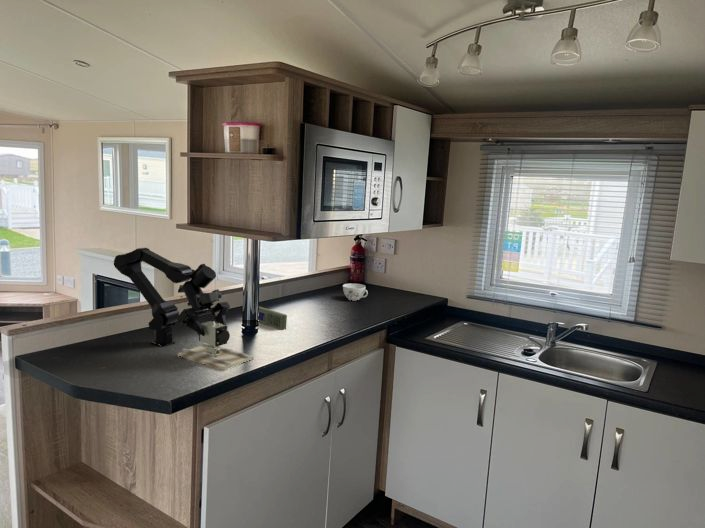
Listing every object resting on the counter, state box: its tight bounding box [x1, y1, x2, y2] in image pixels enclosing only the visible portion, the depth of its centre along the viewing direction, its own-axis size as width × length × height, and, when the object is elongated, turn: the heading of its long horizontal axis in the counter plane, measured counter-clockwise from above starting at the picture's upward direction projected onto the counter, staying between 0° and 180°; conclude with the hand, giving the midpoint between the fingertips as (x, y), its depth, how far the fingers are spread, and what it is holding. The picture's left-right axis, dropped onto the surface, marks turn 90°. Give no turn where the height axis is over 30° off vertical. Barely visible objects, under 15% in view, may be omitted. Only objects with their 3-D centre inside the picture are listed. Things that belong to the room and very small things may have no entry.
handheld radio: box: [258, 305, 288, 331], centre depth 222 cm, size 7×3×25 cm
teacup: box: [342, 282, 369, 302], centre depth 277 cm, size 15×12×8 cm
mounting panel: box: [177, 342, 255, 371], centre depth 176 cm, size 22×14×2 cm, turn 59°
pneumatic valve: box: [196, 320, 231, 357], centre depth 174 cm, size 6×12×12 cm, turn 56°
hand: (215, 332), depth 175 cm, fingers open, 9 cm apart
